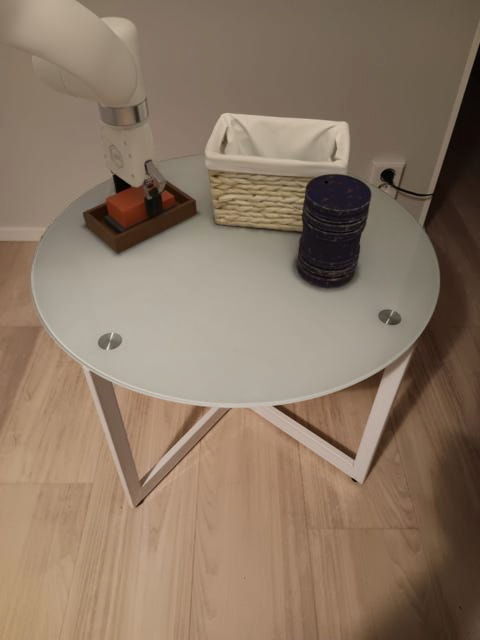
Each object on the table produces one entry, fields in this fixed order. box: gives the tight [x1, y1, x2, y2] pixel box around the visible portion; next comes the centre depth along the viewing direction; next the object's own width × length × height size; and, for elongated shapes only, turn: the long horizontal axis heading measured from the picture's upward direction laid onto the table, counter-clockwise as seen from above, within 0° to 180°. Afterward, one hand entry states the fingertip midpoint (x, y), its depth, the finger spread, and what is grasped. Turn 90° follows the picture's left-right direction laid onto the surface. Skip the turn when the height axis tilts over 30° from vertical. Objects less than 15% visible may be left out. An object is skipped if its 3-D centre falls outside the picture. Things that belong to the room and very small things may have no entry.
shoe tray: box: [82, 179, 198, 254], centre depth 94 cm, size 18×11×3 cm, turn 132°
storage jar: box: [296, 174, 373, 289], centre depth 80 cm, size 10×10×15 cm
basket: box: [203, 112, 351, 233], centre depth 92 cm, size 24×16×15 cm
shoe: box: [104, 186, 176, 234], centre depth 92 cm, size 12×6×5 cm, turn 132°
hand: (139, 202), depth 92 cm, fingers open, 9 cm apart
